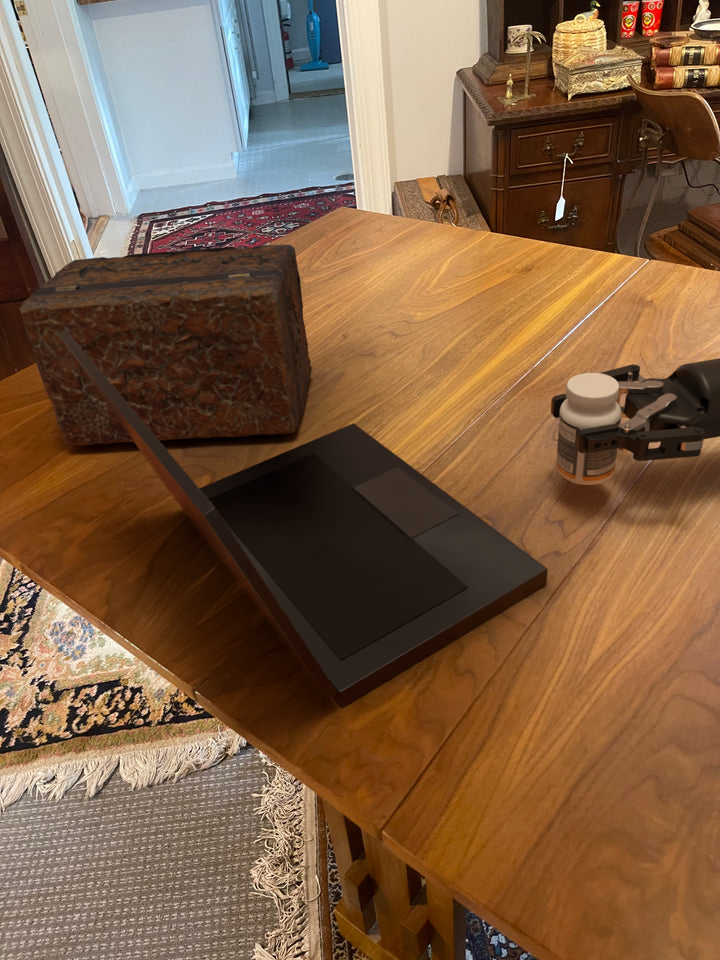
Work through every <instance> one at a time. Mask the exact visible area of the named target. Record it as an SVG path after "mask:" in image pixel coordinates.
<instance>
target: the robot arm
mask: <svg viewBox="0 0 720 960" xmlns="http://www.w3.org/2000/svg"><path fill="white" fill-rule="evenodd" d="M640 372H641V366H640V365H638V364H629V365H624V366H621V367H617V368H613V369H610V370H605V371H602V372H599V373H600V374H605V375H608V376H610V377H612V378H614V379H615V380H616V381H617V382H618V384H619V396H618V399H617V400H616V402H617V403H618V404H619V406H620V408H621V413H622V415H621V419H622V418H626V419H628V420H626V421H624V422H621V424H620V428H619V427H618V425H617V424H611V425H605V426H599V427H594V428H588V429H582V430H580V431H579V432H578V433H577V438H576V448H577V449H578V451H579V452H580V453H587V452H589V453H594V452H599V451H603V450H604V451H605V450H611V449H617V448H618V449H617V450H619V451H621V452H630V453H632V459H634V460H635V461H638V462H646V461H659V460H660V461H661V460H672V459H673V460H674V459H683V458H697V457H699V456H700V455H701V453H702V448H703V445H704V440H708V439H714V438H719V437H720V357H719V358H712V359H707V360H700V361H695V362H688V363H684V364H682V365H680V366H678V367H677V368H676V369H675V370H674V371H673V372H672V373H671V374H670V375H668V377H666V378H655V377H654V378H653V377H650V378H649V377H648V378H646V377H644V376H642V375H641V374H640ZM623 394H625V395H626V396H625V399H624V406H621V405H620V404H621V396H622V395H623ZM566 399H567V397H566V393H561V394H556V395H554V396H553V397H552V398H551V402H550V413H551V415H552V416H553V418H555V419H559V415H560V408H561V405H562V403H563V402H564V401H565V400H566ZM652 443H660V444H659V446H658V447H652V448H649V447H650V446H649V445H650V444H652Z"/></svg>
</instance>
